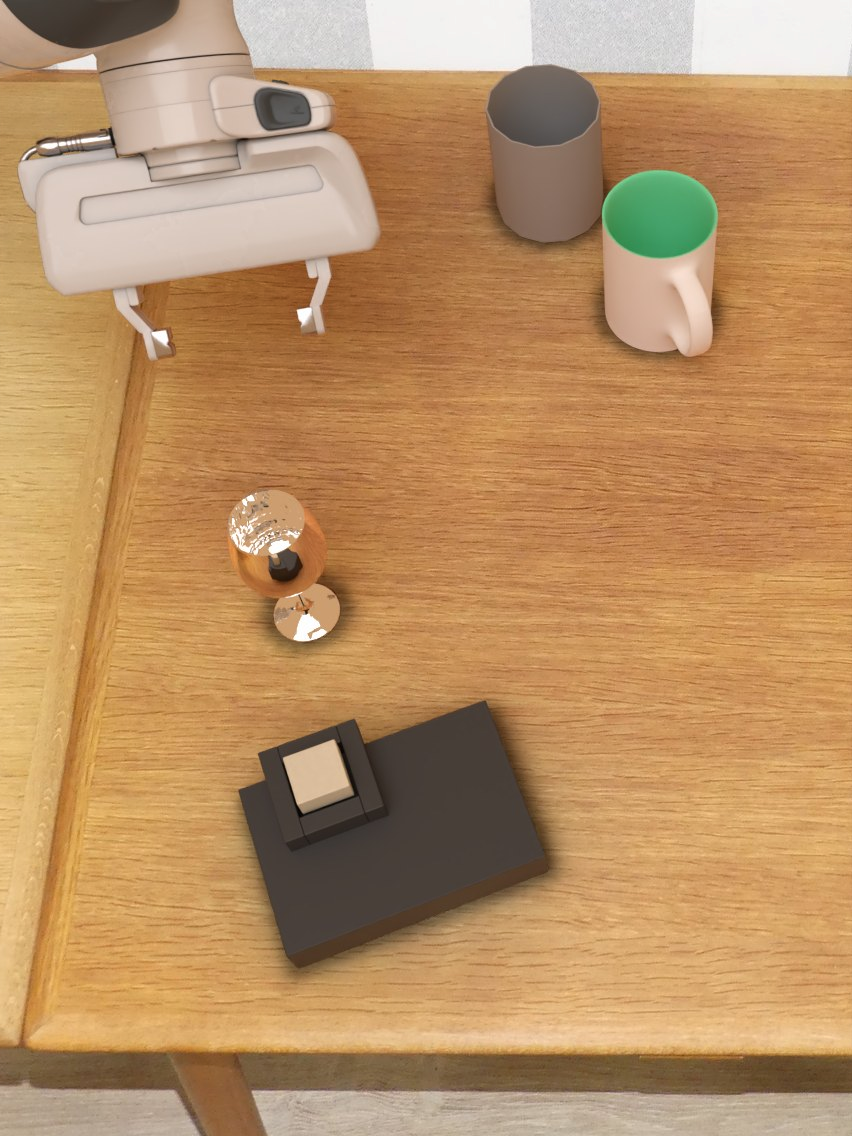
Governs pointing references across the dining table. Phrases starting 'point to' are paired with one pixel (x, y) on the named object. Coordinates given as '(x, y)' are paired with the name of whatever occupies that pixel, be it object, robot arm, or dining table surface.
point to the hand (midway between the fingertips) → (239, 346)
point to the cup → (546, 152)
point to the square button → (318, 776)
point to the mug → (660, 262)
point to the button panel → (391, 832)
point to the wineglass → (283, 562)
